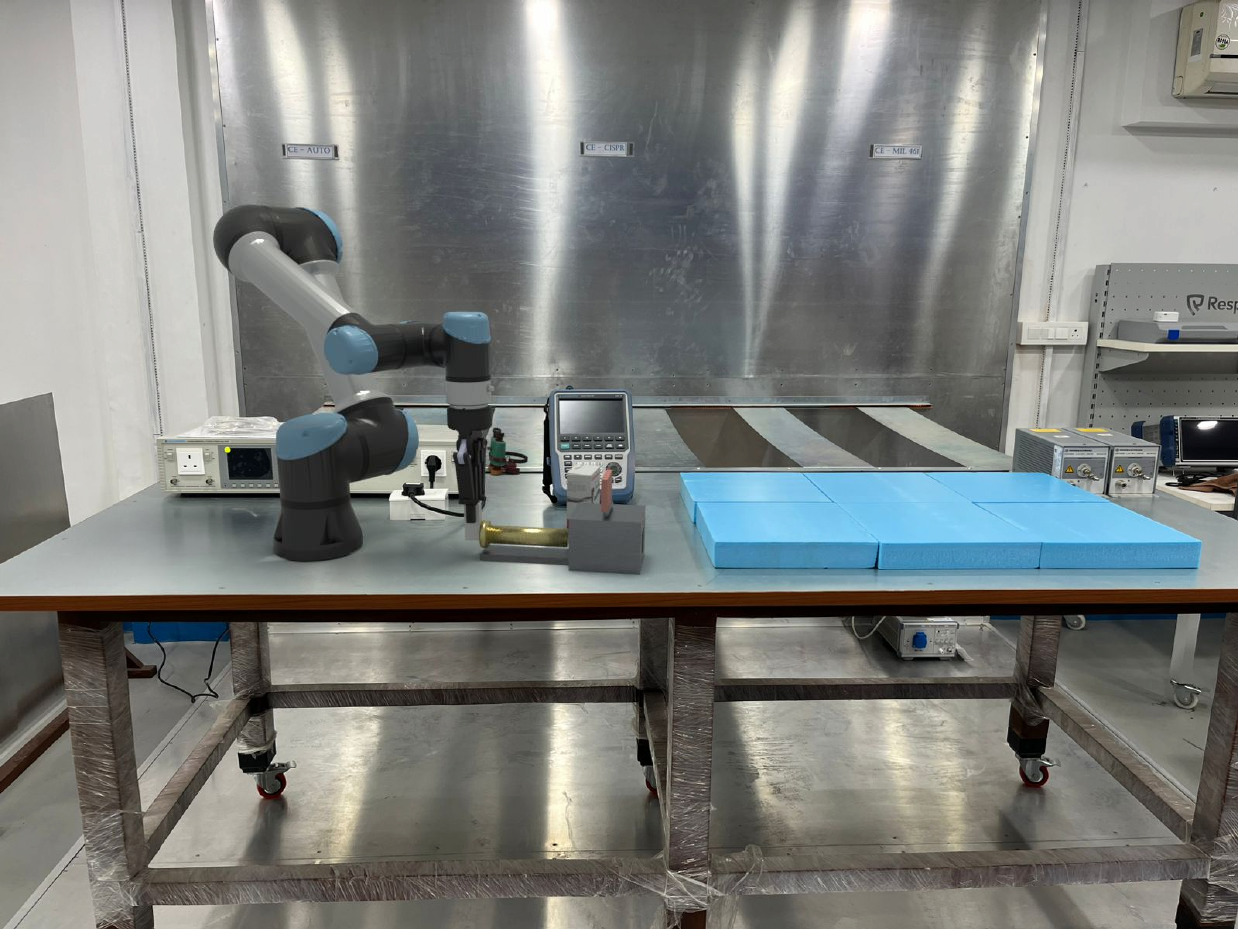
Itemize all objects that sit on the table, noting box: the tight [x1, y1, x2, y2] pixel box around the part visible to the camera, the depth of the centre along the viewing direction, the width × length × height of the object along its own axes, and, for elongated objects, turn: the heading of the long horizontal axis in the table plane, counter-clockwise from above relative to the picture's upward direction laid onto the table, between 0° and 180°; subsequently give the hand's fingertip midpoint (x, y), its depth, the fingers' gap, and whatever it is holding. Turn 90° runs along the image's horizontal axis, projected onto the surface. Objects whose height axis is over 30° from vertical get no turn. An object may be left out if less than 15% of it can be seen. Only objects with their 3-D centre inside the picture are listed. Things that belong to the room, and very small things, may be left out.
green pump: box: [486, 427, 529, 476], centre depth 206 cm, size 9×11×10 cm
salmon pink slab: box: [600, 469, 614, 518], centre depth 143 cm, size 1×7×6 cm, turn 174°
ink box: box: [566, 463, 601, 529], centre depth 163 cm, size 9×5×12 cm, turn 168°
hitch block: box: [478, 503, 646, 575], centre depth 145 cm, size 28×10×9 cm, turn 84°
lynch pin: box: [478, 519, 569, 549], centre depth 146 cm, size 15×5×5 cm, turn 84°
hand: (473, 538), depth 147 cm, fingers closed
